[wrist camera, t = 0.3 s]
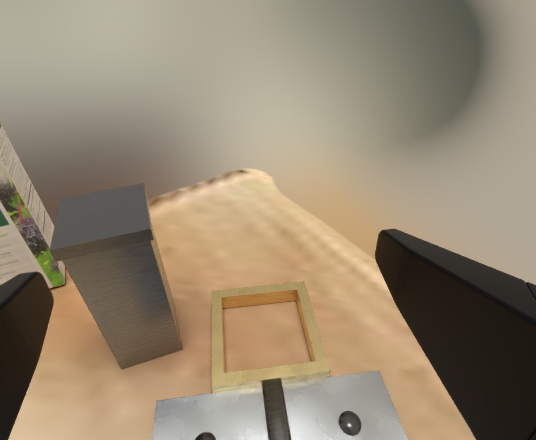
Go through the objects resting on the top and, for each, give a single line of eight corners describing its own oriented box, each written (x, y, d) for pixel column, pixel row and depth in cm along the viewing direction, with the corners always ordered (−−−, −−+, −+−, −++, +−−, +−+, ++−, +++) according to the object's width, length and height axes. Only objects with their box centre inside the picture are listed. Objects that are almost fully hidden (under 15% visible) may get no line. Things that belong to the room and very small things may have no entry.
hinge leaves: (502, 685, 13) (519, 688, 12) (113, 785, 12) (99, 798, 11) (342, 288, 30) (345, 277, 29) (170, 306, 28) (166, 295, 27)
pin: (185, 350, 25) (150, 228, 17) (119, 372, 24) (49, 250, 16) (176, 302, 28) (143, 183, 21) (117, 319, 27) (60, 198, 19)
